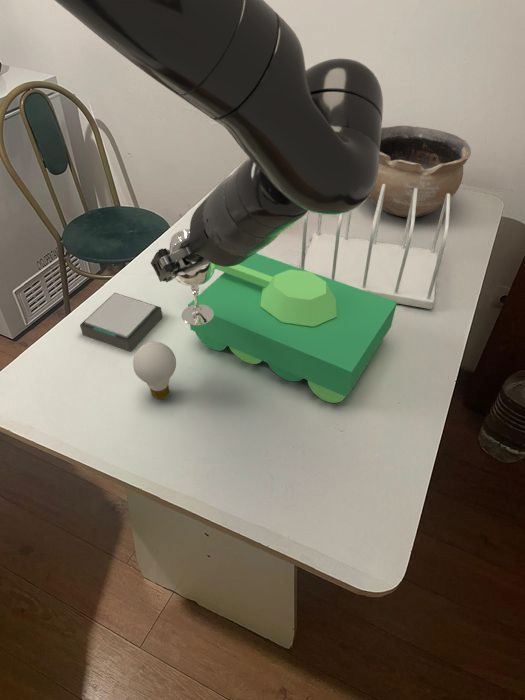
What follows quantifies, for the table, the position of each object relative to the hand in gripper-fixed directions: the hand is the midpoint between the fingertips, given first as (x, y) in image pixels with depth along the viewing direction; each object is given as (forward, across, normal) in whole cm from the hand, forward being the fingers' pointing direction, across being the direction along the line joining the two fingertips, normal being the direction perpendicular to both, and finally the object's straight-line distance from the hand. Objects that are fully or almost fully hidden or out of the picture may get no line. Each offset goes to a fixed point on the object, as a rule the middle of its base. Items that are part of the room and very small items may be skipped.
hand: (185, 265), depth 67 cm
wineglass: (+4, 0, +6) cm, 8 cm away
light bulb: (+13, +7, +15) cm, 21 cm away
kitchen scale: (+26, +4, +2) cm, 26 cm away
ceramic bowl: (+23, -66, +4) cm, 71 cm away
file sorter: (+15, -41, +13) cm, 45 cm away
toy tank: (+14, -14, +15) cm, 25 cm away
